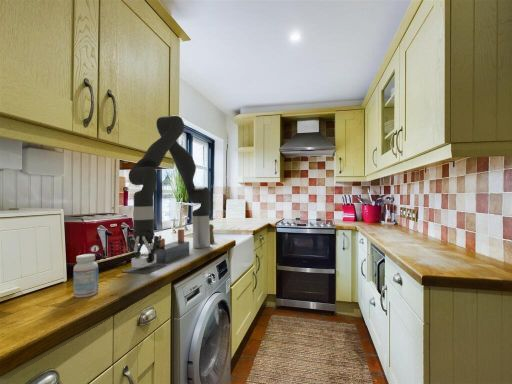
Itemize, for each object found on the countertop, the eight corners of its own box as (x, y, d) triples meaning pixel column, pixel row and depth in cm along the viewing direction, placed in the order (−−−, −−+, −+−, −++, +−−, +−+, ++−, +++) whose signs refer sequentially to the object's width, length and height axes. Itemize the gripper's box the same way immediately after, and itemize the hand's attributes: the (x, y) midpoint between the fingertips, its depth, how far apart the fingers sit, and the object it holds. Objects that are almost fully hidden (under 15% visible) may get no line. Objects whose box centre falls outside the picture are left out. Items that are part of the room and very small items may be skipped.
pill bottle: (84, 290, 81) (83, 253, 82) (103, 291, 81) (102, 253, 81) (68, 298, 75) (67, 257, 75) (88, 298, 75) (88, 257, 75)
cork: (212, 243, 161) (212, 224, 161) (202, 243, 162) (202, 224, 162) (216, 241, 167) (215, 223, 167) (206, 241, 168) (206, 223, 168)
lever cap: (145, 261, 109) (145, 251, 109) (156, 262, 108) (156, 252, 108) (131, 266, 101) (131, 256, 101) (143, 267, 100) (143, 256, 100)
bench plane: (176, 253, 134) (176, 229, 134) (189, 253, 132) (188, 229, 132) (150, 263, 114) (150, 234, 114) (165, 264, 112) (165, 235, 112)
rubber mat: (141, 265, 111) (141, 264, 111) (165, 266, 109) (165, 265, 109) (122, 272, 101) (122, 271, 101) (147, 273, 98) (147, 272, 98)
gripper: (165, 217, 107) (166, 260, 106) (134, 217, 110) (135, 259, 110) (154, 218, 100) (154, 265, 99) (121, 219, 103) (121, 263, 103)
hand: (144, 262), depth 105 cm, fingers closed on lever cap, 5 cm apart
